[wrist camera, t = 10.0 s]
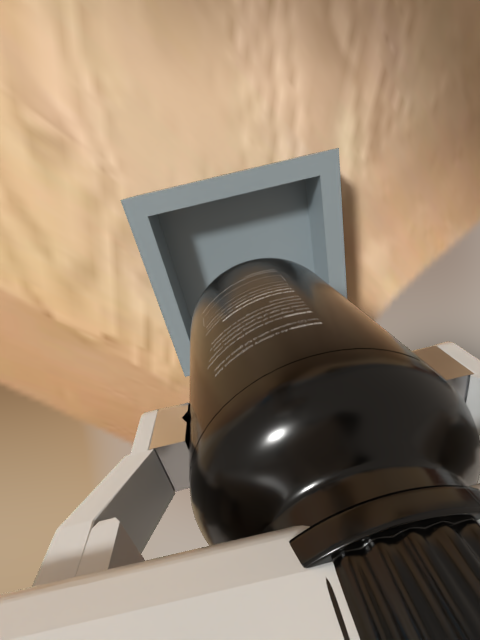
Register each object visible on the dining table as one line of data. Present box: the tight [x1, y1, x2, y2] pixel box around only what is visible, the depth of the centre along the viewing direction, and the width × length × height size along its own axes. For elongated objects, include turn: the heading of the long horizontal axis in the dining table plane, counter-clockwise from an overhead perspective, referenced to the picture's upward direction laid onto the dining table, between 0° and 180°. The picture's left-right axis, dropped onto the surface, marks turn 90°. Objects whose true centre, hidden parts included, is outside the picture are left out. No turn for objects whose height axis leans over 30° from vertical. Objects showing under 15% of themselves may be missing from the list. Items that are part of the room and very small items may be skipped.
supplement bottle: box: [189, 258, 480, 640], centre depth 9 cm, size 7×7×12 cm
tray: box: [121, 148, 347, 377], centre depth 22 cm, size 13×13×4 cm
